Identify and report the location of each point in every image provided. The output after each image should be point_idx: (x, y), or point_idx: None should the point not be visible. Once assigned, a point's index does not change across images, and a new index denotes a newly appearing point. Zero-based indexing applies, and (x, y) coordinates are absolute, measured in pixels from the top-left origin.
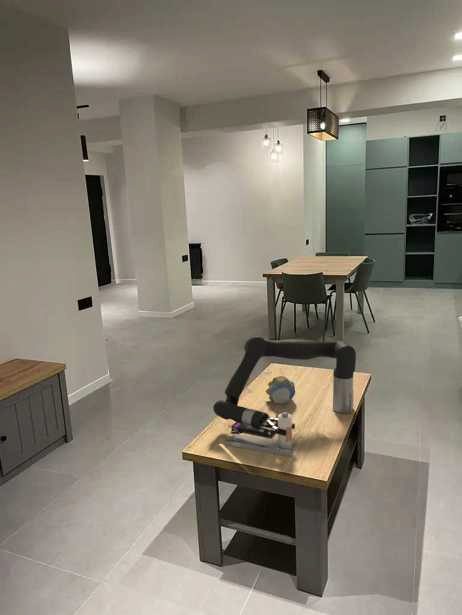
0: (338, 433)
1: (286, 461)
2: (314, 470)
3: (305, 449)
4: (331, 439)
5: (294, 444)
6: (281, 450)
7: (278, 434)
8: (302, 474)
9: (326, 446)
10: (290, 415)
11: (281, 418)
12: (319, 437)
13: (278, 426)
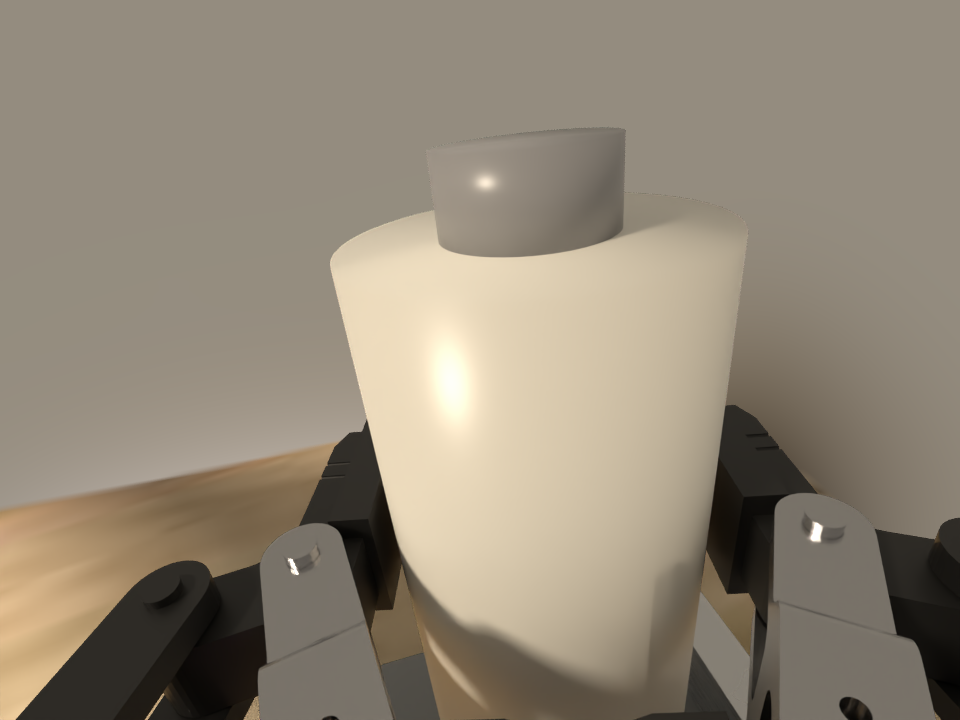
0: (41, 521)
1: (733, 625)
2: None
3: (399, 595)
4: (156, 517)
5: (397, 696)
6: (745, 651)
7: (684, 663)
8: None
9: (285, 499)
10: (414, 220)
11: (702, 215)
12: (115, 603)
13: (707, 506)
